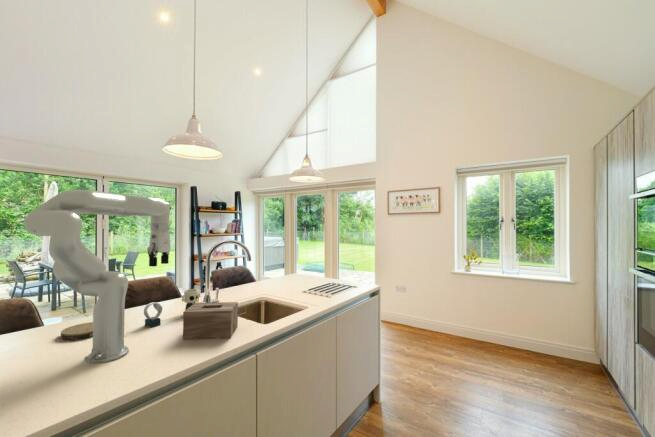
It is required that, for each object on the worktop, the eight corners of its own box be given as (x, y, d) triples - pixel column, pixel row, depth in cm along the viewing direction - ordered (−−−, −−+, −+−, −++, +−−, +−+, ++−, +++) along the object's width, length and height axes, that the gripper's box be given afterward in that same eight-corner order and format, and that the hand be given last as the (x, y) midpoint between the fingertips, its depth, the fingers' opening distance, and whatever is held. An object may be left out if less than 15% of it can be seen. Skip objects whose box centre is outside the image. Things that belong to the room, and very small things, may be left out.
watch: (164, 323, 144) (164, 301, 144) (147, 328, 137) (148, 305, 137) (157, 321, 147) (157, 300, 147) (141, 326, 140) (141, 303, 140)
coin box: (230, 338, 126) (230, 310, 126) (182, 339, 124) (183, 311, 124) (237, 326, 140) (237, 301, 140) (194, 328, 138) (195, 302, 138)
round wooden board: (53, 337, 127) (54, 330, 127) (96, 326, 141) (96, 319, 141) (71, 344, 120) (71, 337, 120) (113, 331, 134) (114, 325, 134)
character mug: (185, 317, 153) (185, 293, 154) (177, 315, 157) (178, 291, 157) (203, 312, 163) (204, 289, 163) (196, 310, 166) (196, 287, 167)
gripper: (157, 228, 125) (156, 267, 125) (177, 228, 143) (176, 262, 142) (140, 227, 125) (139, 267, 125) (161, 227, 143) (161, 262, 142)
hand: (159, 264), depth 133 cm, fingers open, 9 cm apart
